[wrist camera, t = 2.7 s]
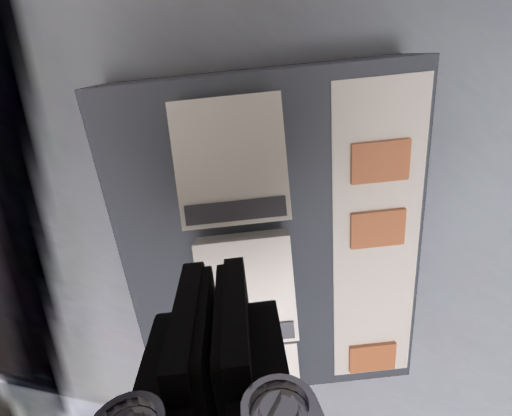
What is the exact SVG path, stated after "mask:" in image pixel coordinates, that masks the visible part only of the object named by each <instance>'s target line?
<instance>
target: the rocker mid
mask: <svg viewBox="0 0 512 416" xmlns="http://www.w3.org/2000/svg"><path fill="white" fill-rule="evenodd" d="M192 253H193V261H194V262H202V261H203V262H204V265H205V266H211V267H212V271H213V277H214V284H215V282H216V268H217V265H221V264H224V259H228V258H237V257H243V260H244V268H245V276H246V284H247V293H248V301H249V303H253V302H261V301H270V300H275V301H276V305H277V310H278V316H279V321H280V326H281V331H282V337H283V342H292V341H300V340H299V329H298V318H297V307H296V296H295V285H294V274H293V263H292V252H291V241H290V235H289V233H288V231H287V229H286V228H280V229H271V230H261V231H252V232H242V233H232V234H223V235H213V236H204V237H197V238H196V240H195V241H194V243H193V244H192Z"/></svg>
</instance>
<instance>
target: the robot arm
mask: <svg viewBox="0 0 512 416" xmlns="http://www.w3.org/2000/svg"><path fill="white" fill-rule="evenodd" d="M94 416H324V413H323V411H322V409H321V406H320V404H319V402H318V400H317V397H316V395H315V393H314V392H313V390H312V389H311V387H310V386H309V385H308V384H307V383H305V382H304V381H303V380H302V379H300V378H297V377H295V376H293V375H290V374H289V368H288V363H287V358H286V353H285V347H284V342H283V337H282V331H281V326H280V321H279V316H278V310H277V305H276V301H275V300H270V301H261V302H253V303H249V301H248V293H247V284H246V276H245V268H244V260H243V257H237V258H228V259H224V264H221V265H217V268H216V282H215V284H214V277H213V271H212V267H211V266H205V265H204V262H203V261H202V262H193V263H185V264H183V266H182V271H181V275H180V279H179V283H178V287H177V291H176V295H175V300H174V304H173V308H172V312H168V313H159V314H157V315H156V316H155V318H154V321H153V324H152V328H151V331H150V334H149V337H148V341H147V344H146V347H145V351H144V354H143V357H142V361H141V364H140V367H139V371H138V374H137V377H136V380H135V384H134V387H133V390H132V392H127V393H125V394H122V395H119V396H117V397H115V398H114V399H112V400H110V401H109V402H107V403H106V404H105V405H104V406H103V407H101V408H100V409H99V410H98V411H97V412H96V413H95V415H94Z"/></svg>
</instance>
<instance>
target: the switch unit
mask: <svg viewBox="0 0 512 416" xmlns="http://www.w3.org/2000/svg"><path fill="white" fill-rule="evenodd" d="M438 61H439V53H410V54H393V55H383V56H373V57H363V58H353V59H343V60H333V61H324V62H314V63H304V64H294V65H284V66H274V67H264V68H254V69H244V70H234V71H225V72H215V73H205V74H195V75H185V76H175V77H165V78H155V79H145V80H135V81H126V82H116V83H106V84H101V85H96V86H91V87H86V88H81V89H76V90H75V94H76V98H77V101H78V105H79V109H80V112H81V116H82V120H83V123H84V127H85V131H86V134H87V138H88V142H89V145H90V149H91V152H92V156H93V160H94V163H95V167H96V171H97V174H98V178H99V182H100V185H101V189H102V193H103V196H104V200H105V204H106V207H107V211H108V215H109V218H110V222H111V226H112V229H113V233H114V237H115V240H116V244H117V247H118V251H119V255H120V258H121V262H122V266H123V269H124V273H125V277H126V280H127V284H128V288H129V291H130V295H131V299H132V302H133V306H134V310H135V313H136V317H137V321H138V324H139V328H140V332H141V335H142V339H143V342H144V346H145V347H146V344H147V341H148V337H149V334H150V331H151V328H152V324H153V321H154V318H155V316H156V315H157V314H159V313H168V312H172V308H173V304H174V300H175V295H176V291H177V287H178V283H179V279H180V275H181V271H182V266H183V264H185V263H193V262H194V261H193V253H192V244H193V243H194V241H195V240H196V238H197V237H204V236H213V235H223V234H232V233H242V232H252V231H261V230H271V229H280V228H286V229H287V231H288V233H289V235H290V241H291V252H292V263H293V274H294V285H295V296H296V307H297V318H298V329H299V340H300V341H296V342H297V351H298V362H299V373H300V379H302V380H303V381H304V382H305V383H307V384H308V385H315V384H325V383H334V382H343V381H353V380H362V379H371V378H381V377H390V376H399V375H408V374H409V368H410V357H411V347H412V336H413V325H414V315H415V304H416V294H417V283H418V273H419V262H420V251H421V241H422V230H423V220H424V209H425V199H426V188H427V177H428V167H429V156H430V146H431V135H432V125H433V114H434V103H435V93H436V82H437V72H438ZM279 90H281V99H282V110H283V121H284V132H285V143H286V154H287V166H288V177H289V188H290V199H291V210H292V220H285V221H275V222H265V223H256V224H246V225H236V226H227V227H217V228H208V229H198V230H188V231H182V226H181V218H180V211H179V203H178V196H177V188H176V181H175V173H174V165H173V158H172V150H171V143H170V135H169V127H168V120H167V112H166V105H165V102H171V101H180V100H190V99H200V98H210V97H220V96H230V95H240V94H249V93H259V92H269V91H279Z"/></svg>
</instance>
